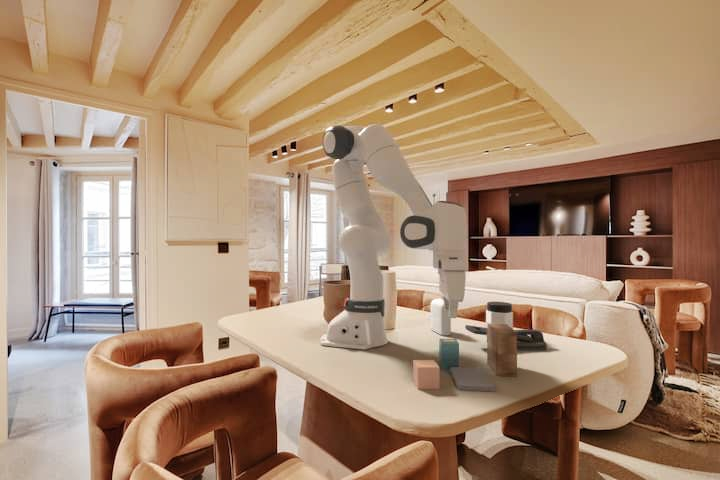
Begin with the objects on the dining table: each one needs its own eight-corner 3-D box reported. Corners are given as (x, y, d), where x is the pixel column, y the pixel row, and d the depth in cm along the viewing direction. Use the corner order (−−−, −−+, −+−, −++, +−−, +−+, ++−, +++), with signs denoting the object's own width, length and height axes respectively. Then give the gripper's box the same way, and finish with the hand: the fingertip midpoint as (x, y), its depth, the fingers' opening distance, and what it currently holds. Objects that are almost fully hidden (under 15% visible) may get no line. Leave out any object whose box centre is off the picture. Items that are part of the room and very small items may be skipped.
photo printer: (428, 329, 137) (429, 297, 137) (439, 329, 138) (439, 296, 138) (441, 336, 127) (441, 301, 127) (452, 335, 128) (452, 301, 128)
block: (417, 389, 81) (417, 367, 81) (412, 380, 86) (413, 360, 86) (439, 389, 81) (439, 367, 81) (433, 380, 86) (433, 359, 86)
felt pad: (457, 389, 81) (457, 385, 81) (450, 370, 93) (450, 366, 93) (494, 391, 80) (494, 386, 80) (481, 372, 92) (482, 368, 92)
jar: (516, 340, 122) (516, 305, 122) (493, 340, 121) (493, 305, 121) (504, 334, 131) (504, 301, 131) (482, 334, 130) (483, 301, 130)
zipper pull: (462, 324, 117) (534, 323, 120) (462, 344, 117) (534, 342, 120) (474, 331, 108) (551, 329, 111) (473, 352, 108) (551, 350, 111)
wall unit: (496, 375, 89) (496, 331, 89) (486, 363, 99) (486, 323, 99) (517, 376, 89) (517, 332, 89) (506, 363, 98) (506, 323, 98)
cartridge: (441, 370, 93) (441, 342, 93) (439, 364, 98) (439, 338, 98) (458, 370, 93) (459, 343, 93) (456, 364, 97) (456, 338, 97)
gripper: (434, 260, 105) (434, 307, 105) (442, 263, 85) (442, 321, 85) (455, 260, 105) (456, 307, 105) (469, 263, 84) (470, 322, 84)
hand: (450, 314), depth 95 cm, fingers open, 8 cm apart
